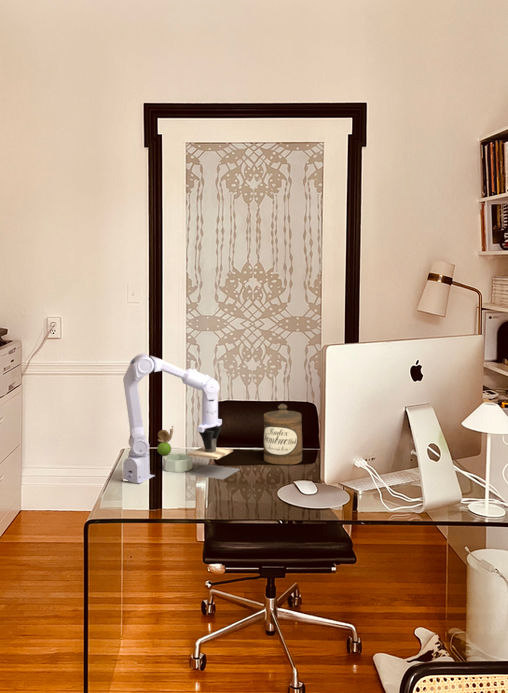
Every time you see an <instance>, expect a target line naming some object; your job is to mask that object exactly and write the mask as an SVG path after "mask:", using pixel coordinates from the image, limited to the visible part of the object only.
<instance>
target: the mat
mask: <svg viewBox="0 0 508 693" xmlns="http://www.w3.org/2000/svg"><path fill="white" fill-rule="evenodd" d="M240 470H241V468H236V467H230V466H229V467H228V466H221V465H213V464H212V465H211V464H206V465H204V466H202V467H200V468H198V469H196V470H195V471H193V472H190V473H188V476H195V477H202V478H209V479H217V480H222V481H223V480H225V479H227V478H228V477H230V476H231V475H233V474H235V473H237V472H238V471H240Z"/></svg>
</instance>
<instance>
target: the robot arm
mask: <svg viewBox="0 0 508 693" xmlns="http://www.w3.org/2000/svg"><path fill="white" fill-rule="evenodd" d="M161 371H162V372H165V373H167V374H169V375H172V376H174V377H177V378H180V379H181V381H182V383H183V384H184V385H187V386H189V387H191V388H193V389H196V390H199V391H202V392H201V393H202V394H201V395H202V396H201V397H202V398H201V423H200V425H198V426H197V433H198V434H199V435H200V437H201V439H202V442H203V446H204V447H205V449H211V445H212V438H213V439H216V443H217V442H218V437H219V435H220V433H221V431H222V426H221V425H222V424H223V419H222V418H219V397H218V396H219V395H218V393H219V391H220V389H221V388H220V383H218V381H217V380H216V379H215V378H213V377H212V376H209V375H208V374H207V373H206V374H203V373H202V372H198V370H197V369H196V368H194V367H192V368H187V369H182V368H181V367H178V366H177V365H174V364H172V363H170V362H168V361H166V360H163V359H161V358H160V357H159V358H158V357H156V356H153V355H148V354H147V353H137V355H135V356H134V357H133V358H132V359H131V361H130V362H129V365H128V368H127V369H126V371H125V373H124V375H123V378H122V379H123V387H124V395H125V396H124V397H125V401H126V407H127V408H126V410H127V418H128V423H129V439H128V445H129V447H130V450H129V451H128V457H127V458H126V459H125V460H124V462H123V464H122V466H123V467H122V468H123V471H122V472H123V479H126V480H128V481H130V482H129V483H133V484H142V483H144V482H146V481H147V480H149V479H151V478H153V477H156V475H155V474H151V470H150V468H151V467H150V465H151V464H150V451H149V450H150V443H149V441H148V440H147V438H146V434H145V429H144V421H143V416H142V408H141V401H140V393H139V387H138V386H139V384H138V383H139V382H140V381H141V380H142V379H143V378H144V377H145V376H147V375H149V374H151V373H152V372H154V373H156V372H161Z"/></svg>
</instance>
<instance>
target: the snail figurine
mask: <svg viewBox="0 0 508 693" xmlns="http://www.w3.org/2000/svg"><path fill="white" fill-rule="evenodd" d="M173 433H174V425H172V426H171V428H170V429H169V431H168V430H166V429H161V430H159V431H158V432H157V438H158V439H157V441H158V442H159V444H158V445H157V452H158V454H159V455H160V456H163V457H165V456H167V455H169V454H171V452H172V446H171V444H170V443H169V442H170V441H171V440H172V437H173Z"/></svg>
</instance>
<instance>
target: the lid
mask: <svg viewBox="0 0 508 693" xmlns="http://www.w3.org/2000/svg"><path fill="white" fill-rule="evenodd" d="M233 452H234V449H233V448H223V447H217V442H216V439H213V438H212V445H211V449H205V447H204V445H203V446H201V447H199V448H197V449H195V450H193V451H191V452H189V453H187V454H188V456H191V457H192V458H201V459H202V458H203V459H211V460H219V459H222V458H223V457H225V456H227V455H229V454H230V453H233Z"/></svg>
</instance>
